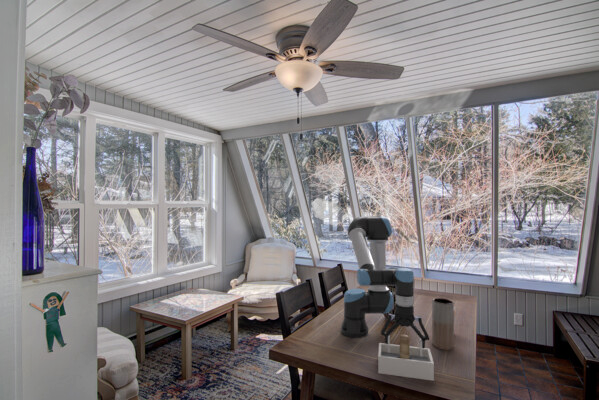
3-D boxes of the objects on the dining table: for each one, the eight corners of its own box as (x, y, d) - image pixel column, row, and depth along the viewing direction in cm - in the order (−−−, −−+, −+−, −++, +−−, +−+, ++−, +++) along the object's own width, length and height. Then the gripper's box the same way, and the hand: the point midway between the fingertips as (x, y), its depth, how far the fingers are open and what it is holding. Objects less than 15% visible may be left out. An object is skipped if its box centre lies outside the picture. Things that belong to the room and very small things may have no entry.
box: (378, 373, 137) (378, 356, 137) (379, 357, 150) (379, 342, 150) (433, 380, 131) (433, 363, 131) (429, 364, 144) (429, 348, 144)
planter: (432, 348, 160) (432, 302, 160) (432, 340, 170) (431, 297, 170) (454, 351, 157) (454, 304, 157) (452, 343, 166) (452, 299, 166)
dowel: (399, 365, 143) (399, 334, 143) (408, 366, 142) (408, 335, 142) (399, 370, 139) (399, 337, 139) (409, 371, 138) (409, 338, 138)
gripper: (375, 304, 140) (375, 353, 140) (436, 309, 134) (436, 361, 134) (375, 299, 148) (375, 346, 147) (433, 304, 141) (433, 352, 141)
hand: (404, 353), depth 140 cm, fingers open, 13 cm apart
